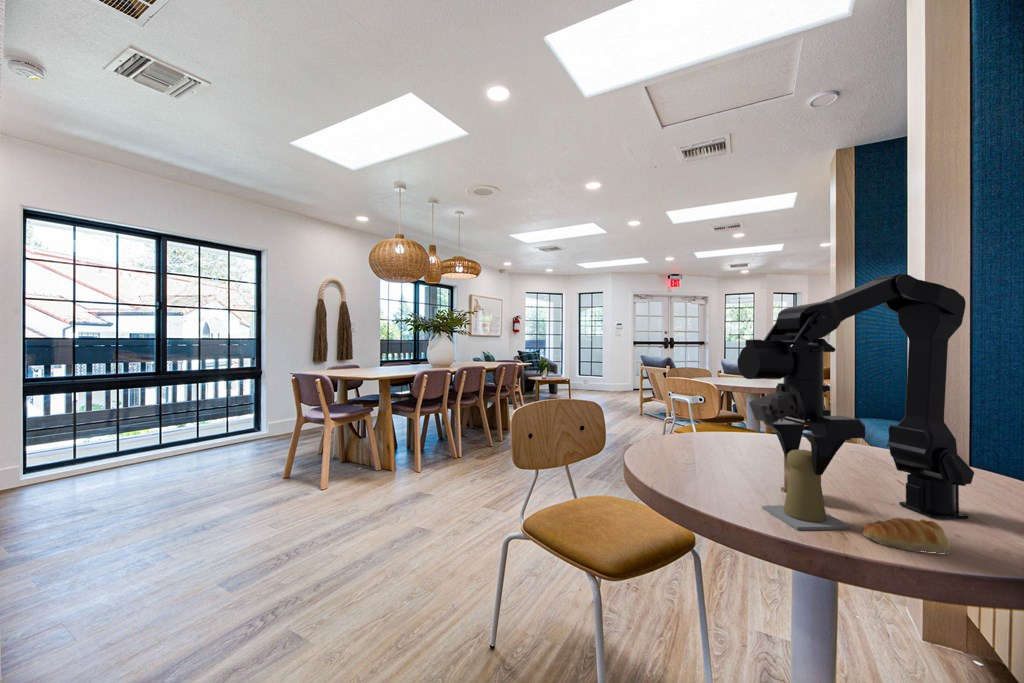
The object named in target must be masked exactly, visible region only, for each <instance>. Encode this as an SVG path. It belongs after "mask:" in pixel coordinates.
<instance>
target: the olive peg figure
mask: <svg viewBox="0 0 1024 683" xmlns="http://www.w3.org/2000/svg"><path fill="white" fill-rule="evenodd" d="M787 462H788V465H789V466H790V468H791V469H790V475H789V481H788V487H787V492H785V493H786V494H785V499H784V500H785V501H784V504H783V505H784V513H786V514H787V515H789V516H791V517H794V518H797V519H801V520H805V521H811V522H823V521H826V514H825V513H826V507H825V504H824V501H825V500H824V495H823V489H822V488H823V486H822V479H821V480H820V475H815V474H814V469H813V462H812V451H811V450H807V449H799V450H792V451H790V452H789V453H788V455H787Z"/></svg>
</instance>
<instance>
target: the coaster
mask: <svg viewBox="0 0 1024 683" xmlns="http://www.w3.org/2000/svg"><path fill="white" fill-rule="evenodd" d="M784 505H785V504H783V505H782V504H781V505H762V507H761V509H762V510H764V511H766V512H768V513H769V514H770V515H772V516H773V517H775V518H776V519H778V520H780V521H781V522H783V523H785V524H786V525H789V526H790V527H792V528H793V529H794V530H797V531H826V530H828V531H829V530H832V531H835V530H838V531H840V530H842V531H843V530H853V529H852V528H853V527H852V525H850V524H849V523H846V522H844V521H843V520H840V519H838V518H836V517H834V516H832V515H831V514H829V513H827V512H825V514H826V521H823V522H811V521H805V520H801V519H797V518H794V517H791V516H789V515H787V514H786V513H784Z"/></svg>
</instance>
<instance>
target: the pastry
mask: <svg viewBox="0 0 1024 683" xmlns="http://www.w3.org/2000/svg"><path fill="white" fill-rule="evenodd" d="M862 535H864V536H865V537H866V538H867V539H870V540H872V541H874V542H875V543H877V544H880V545H882V546H886V547H890V548H891V547H892V548H896V549H901V550H904V549H905V550H904V551H908V550H910V551H909V552H917V551H924V552H923V553H925V551H926V552H936V553H945V554H944V555H948V554H949V553H950V552H951V551H952V545H951V543H950V541H949V538H948V537H947V536H946V534H945V531H944V529H943V527H942V526H940V524H938V523H937V522H935V521H932V520H926V519H923V518H922V519H920V520H916V519H912V518H904V517H902V518H901V517H893V518H891V519H887V520H877V521H874V522H869V523H866V524H865V525H864V528H863V533H862ZM947 553H948V554H947Z"/></svg>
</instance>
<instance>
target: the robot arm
mask: <svg viewBox="0 0 1024 683" xmlns="http://www.w3.org/2000/svg"><path fill="white" fill-rule="evenodd" d="M882 304H883V305H884V307H885V308H886V309H887V310H888V311H891V312H893V313H894V314H897V320H898V326H899V328H901V330H902V331H903V333H904V334H905V335H906V337H907V338H908V352H907V353H908V354H907V369H906V370H907V371H906V372H907V373H906V374H907V375H906V389H905V390H906V392H905V407H904V408H905V410H904V411H905V412H904V418H902V419H901V421H900V422H898V424H897V425H895V424H894V425H893V424H891V425H889V427H888V441H887V444H886V447H889V454H890V456H891V457H892V459H893V461H894V465H895V469H896V470H897V471H899V472H903V473H906V477H907V478H906V481H907V482H905V501H899V503H898V504H899V505H900V506H902V507H904V508H907V509H909V510H911V511H914V512H917V513H920V514H921V515H924V516H928V517H930V518H933V519H969V518H970V515H969V514H968V513H965V512H962V511H960V503H959V502H960V500H959V499H960V495H959V494H960V493H959V490H960V489H959V486H961V487H966V486H967V485H971V484H972V483H973V482H972V481H973V479H974V475H975V471H974V470H973V469H972V468H971V467H970V466H969V464H968V463H966V461H965V460H963V459H962V457H961V456H960V455H959V454H958V448H957V438H955V436H954V435H953V433H952V431H951V430H950V429H949V427H948V426H947V424H946V423H945V407H946V406H945V405H946V386H947V369H948V367H947V366H948V351H949V350H948V348H949V347H948V345H949V339H950V338H951V337H952V336H953V335H954V333H955V332H956V331H958V330H959V328H960V327H961V326H962V323H963V320H964V315H965V310H966V299H965V297H964V296H963V295H962V294H960V293H959V291H957V290H956V289H953V288H951V287H947V286H945V285H943V284H939V283H935V282H931V281H926V280H922V279H918V278H915V277H914V276H912V275H910V274H907V273H901V272H900V273H895V274H888V275H883V276H878V277H876V278H874V279H873V280H871V281H869V282H866V283H864V284H862V285H859V286H857V287H854V288H852V289H849V290H847V291H845V292H843V293H839V294H837V295H834V296H832V297H830V298H827V299H825V300H822V301H818V302H812V303H806V304H800V305H797V306H791V307H786V308H783V309H782V310H780V311H779V312H778V313H777V318H776V321H775V323H774V324H773V326H772V327H771V329H770V330H769V331H768V333H767V334H766V336H765V338H764V339H746V340H745V347H743V348H742V349H741V350H740V353H739V356H738V357H737V368H738V371H739V373H740V374H741V376H742V377H743V378H745V379H747V380H777V379H778V380H780V379H783V381H782V382H783V383H781V382H778V383H777V385H776V387H775V390H776V391H775V392H773V393H769V394H766V395H764V396H760V397H758V398H756V399H755V398H754V399H753V400H751V401H749V402H748V404H749V406H750V409H751V412H752V415H753V417H754V420H756V421H762V422H763V424H764V425H766V426H768V427H769V428H770V429H771V430H772V431H773V432H774V433H775V434H776V437H777V439H778V440H779V443H780V446H781V449H782V453H783V456H784V455H785V458H786V460H787V455H788V453H789V452H790V451H792V450H800V445H801V441H802V437H804V438H805V439H806V440H807V442H809V443H810V449H811V450H810V451H812V462H813V469H814V474H815V475H821V476H822V475H823V474H825V471H826V470H827V468H828V466H829V465H830V463H831V461H832V460H833V458H834V457H835V456H836V454H837V452H838V451H839V450H840V448H842V446H843V445H844V443H845V442H846V441H851V439H866V424H865V423H864V422H863V421H862V420H861V419H858V418H855V417H854V418H853V417H849V416H845V415H831V409H826V408H825V401H824V400H825V398H824V397H825V392H827V393H828V392H831V385H828V384H824V382H825V380H824V379H825V378H824V353H834V352H836V348H835V347H834V346H833V345H832V344H830V343H829V342H827V340H826V339H825V337H826V336H828V335H830V334H831V333H832V332H834V331H835V330H838V328H839V327H840V325H841V323H842V322H843V321H844V320H846V319H849V318H851V317H853V316H856V315H858V314H860V313H863V312H866V311H868V310H870V309H873V308H875V307H877V306H879V305H882ZM805 426H808V427H809V430H810V432H811V433H804V429H805ZM787 463H788V462H787Z"/></svg>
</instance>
